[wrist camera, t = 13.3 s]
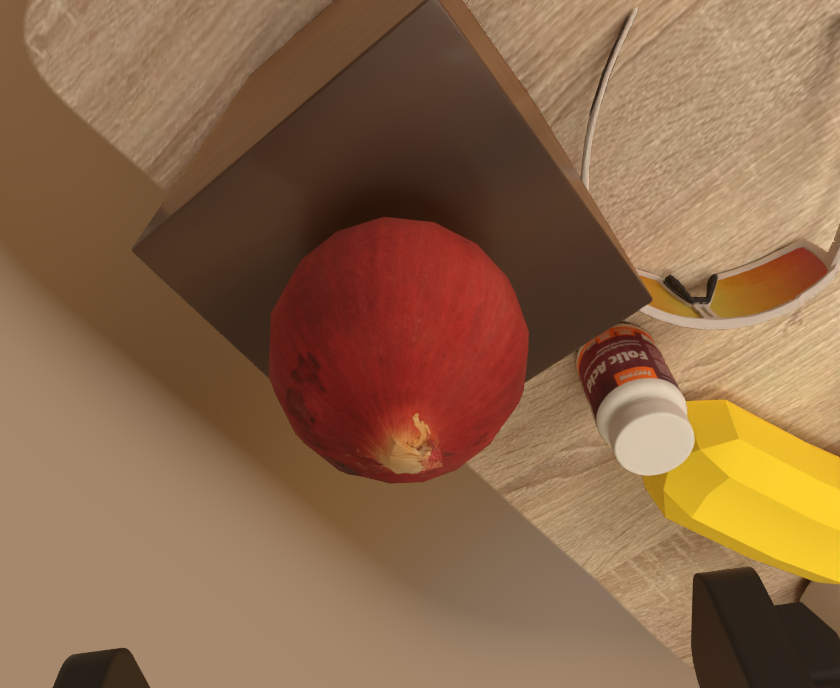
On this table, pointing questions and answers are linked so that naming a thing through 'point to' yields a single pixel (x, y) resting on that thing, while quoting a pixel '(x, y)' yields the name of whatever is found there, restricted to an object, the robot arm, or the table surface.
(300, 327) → the onion
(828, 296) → the table surface
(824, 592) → the can
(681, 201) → the table surface
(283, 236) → the stand
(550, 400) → the table surface
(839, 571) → the low-poly banana
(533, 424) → the table surface
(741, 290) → the sunglasses
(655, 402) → the pill bottle
